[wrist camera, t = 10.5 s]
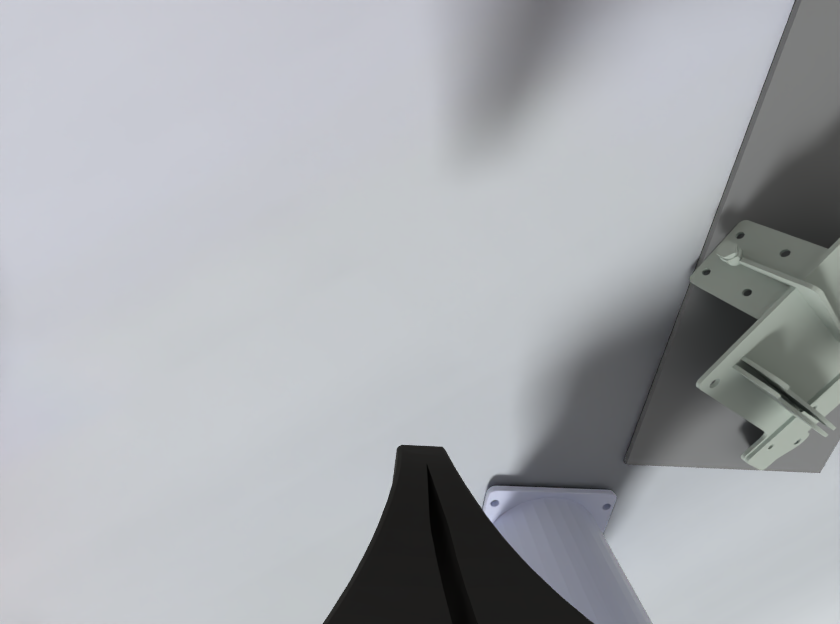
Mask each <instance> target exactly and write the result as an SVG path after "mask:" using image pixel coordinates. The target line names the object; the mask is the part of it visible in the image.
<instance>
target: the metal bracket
mask: <svg viewBox="0 0 840 624" xmlns="http://www.w3.org/2000/svg"><path fill="white" fill-rule="evenodd" d="M739 234H745V235H744V237H743V238H741V239H737V236H738V235H739ZM785 251H790V252H791V253H790V255H789V256H787V257H781V254H782V253H783V252H785ZM707 270H711V272H710V274H708V275H704V272H705V271H707ZM689 280H690V282H691V283H692V284H694V285H695V286H697V287H699V288H701V289H703V290H705V291H706V292H708V293H710V294H712V295H714V296H715V297H717V298H719V299H721V300H723V301H725V302H726V303H728V304H730V305H732V306H734V307H736V308H737V309H739V310H741V311H743V312H745V313H747V314H748V315H750V316H752V317H754V318H756V319H757V321H756V322H755V323H754V324H753V325H752V326H751V327H750V328H749V329H748V330H747V331H746V332H745V333H744V334H743V335H742V336H741V337H740V338H739V339H738V340H737V341H736V342H735V343H734V344H733V345H732V346H731V347H730V348H729V349H728V350H727V351H726V352H725V353H724V354H723V355H722V356H721V357H720V358H719V359H718V360H717V361H716V362H715V363H714V364H713V365H712V366H711V367H710V368H709V369H708V370H707V371H706V372H705V373H704V374H703V375H702V376H701V377H700V378H699V379H698V381H697V382H696V387H697V388H699V389H700V390H702V391H703V392H705V393H706V394H708V395H709V396H711V397H712V398H714V399H715V400H717V401H718V402H720V403H721V404H723V405H725V406H726V407H728V408H729V409H731V410H732V411H734V412H735V413H737V414H738V415H740V416H741V417H743V418H744V419H746V420H748V421H749V422H751V423H752V424H754V425H755V426H757V427H758V428H760V429H761V430H763V431H764V434H763V435H762V436H761V437H760V438H759V439H758V440H757V441H756V442H755V443H754V444H753V445H752V446H751V447H749V448H748V449H747V450H746V451H745V452H744V453H743V454H742V455H741V459H742V460H744V461H745V462H746V463H748V464H749V465H751V466H753V467H755V468H757V469H759V470H764V469H766V468H767V467H768V466H769V465H770V464H772V463H773V462H774V461H775V460H776V459H778V458H779V457H781V456H783V455H784V454H786V453H787V452H789V451H791V450H792V449H794V448H795V447H797V446H799V445H800V444H801V443H802V442H803V441H804V440H805V439H807V437H808V436H809V433H808V431H809V430H810V429H811V428H812V429H814V430H815V431H817V432H818V433H820V434H821V435H823V436H824V437H827V436H828V434H827V433H826V432H825V431H823V430H822V429H821V428H820V427H819V426H817V425H816V424H817V423H818V422H821V423H822V424H824V425H825V426H827V427H828V428H830V429H832V430H833V431H834V430H835V429H836V427H835V426H834V425H833V424H832V423H830V422H829V421H828V420H827V419H826V418H825V416H826V415H827V414H829V413H830V412H831V411H832V410H833V409H834V408H835V407H837V406H838V405H839V404H840V238H839V239H838V240H837V241H836V242H835V243H834V244H833V245H832V246H831V247H830V248H829V249H827V248H824V247H822V246H819V245H816V244H813V243H810V242H808V241H805V240H802V239H799V238H796V237H794V236H791V235H788V234H785V233H782V232H780V231H777V230H774V229H771V228H768V227H766V226H763V225H760V224H757V223H754V222H752V221H749V220H743V221H741V222H739V223H738V224H737V225H736V226H735V228H734V229H733V230H732V231H731V232H730V233H729V234H728V235H727V236H726V237H725V238H724V240H723V241H722V242H721V243H720V244H719V245H718V246H717V247H716V248H715V249H714V251H713V252H712V253H711V254H710V255H709V256H708V257H707V258H706V259H705V260H704V262H703V263H702V264H701V265H700V266H699V267H698V268H697V269H696V270H695V271H694V273H693V274H692V275H691V276H690V278H689ZM747 290H751V291H752V294H751V295H749V296H744V295H743V294H744V292H745V291H747ZM715 379H716V380H715ZM714 380H715V382H714V383H713V384H711V383H712V382H713V381H714ZM710 384H711V385H710Z"/></svg>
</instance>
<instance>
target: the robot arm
mask: <svg viewBox="0 0 840 624" xmlns="http://www.w3.org/2000/svg"><path fill="white" fill-rule="evenodd" d="M616 499H617V497H616V495H615V494H614V492H613V491H612V490H602V489H574V488H547V487H520V486H492V487H490V488H489V489H488V490H487V493H486V497H485V501H484V506H483V510H482V508H481V507H480V506H479V504H478V503H477V501H476V500H475V498H474V497H473V495H472V494H471V492H470V491H469V489H468V488H467V486H466V485H465V483H464V482H463V480H462V478H461V477H460V475H459V473H458V472H457V470H456V468H455V467H454V465H453V463H452V461H451V460H450V458H449V456H448V454H447V452H446V450H445V449H444V448H443V447H435V446H414V445H401V446H399V447H398V448H397V453H396V460H395V468H394V476H393V483H392V487H391V490H390V494H389V497H388V500H387V503H386V506H385V508H384V511H383V514H382V516H381V519H380V521H379V524H378V526H377V529H376V531H375V533H374V535H373V538H372V540H371V542H370V544H369V546H368V548H367V550H366V552H365V554H364V556H363V558H362V560H361V562H360V564H359V565H358V567H357V569H356V571H355V573H354V575H353V577H352V578H351V580H350V582H349V583H348V585H347V587H346V588H345V590H344V592H343V593H342V595H341V596H340V598H339V600H338V601H337V603H336V604H335V606H334V607H333V609H332V611H331V612H330V614H329V615H328V617H327V618H326V620H325V621H324V623H323V624H652V622H651V620H650V618H649V616H648V615H647V613H646V611H645V609H644V607H643V606H642V604H641V602H640V600H639V598H638V597H637V595H636V593H635V591H634V589H633V588H632V586H631V584H630V582H629V580H628V579H627V577H626V575H625V573H624V571H623V570H622V568H621V566H620V564H619V562H618V561H617V559H616V557H615V555H614V553H613V552H612V550H611V548H610V546H609V544H608V543H607V541H606V539H605V537H604V536H603V534H604V531H605V529H606V526H607V523H608V521H609V518H610V515H611V513H612V510H613V508H614V505H615V502H616ZM493 500H496V501H493ZM492 501H493V502H492Z"/></svg>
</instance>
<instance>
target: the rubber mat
mask: <svg viewBox="0 0 840 624" xmlns="http://www.w3.org/2000/svg"><path fill="white" fill-rule="evenodd" d="M743 220H749V221H752V222H754V223H757V224H760V225H763V226H766V227H768V228H771V229H774V230H777V231H780V232H782V233H785V234H788V235H791V236H794V237H796V238H799V239H802V240H805V241H808V242H810V243H813V244H816V245H819V246H822V247H824V248H827V249H829V248H830V247H831V246H832V245H833V244H834V243H835V242H836V241H837V240H838V239H839V238H840V0H796V1H795V4H794V6H793V9H792V12H791V14H790V17H789V20H788V22H787V25H786V28H785V30H784V33H783V36H782V38H781V41H780V44H779V46H778V49H777V52H776V54H775V57H774V60H773V63H772V65H771V68H770V71H769V73H768V76H767V79H766V81H765V84H764V87H763V89H762V92H761V95H760V97H759V100H758V103H757V105H756V108H755V111H754V113H753V116H752V119H751V122H750V124H749V127H748V130H747V132H746V135H745V138H744V140H743V143H742V146H741V148H740V151H739V154H738V156H737V159H736V162H735V164H734V167H733V170H732V172H731V175H730V178H729V180H728V183H727V186H726V189H725V191H724V194H723V197H722V199H721V202H720V205H719V207H718V210H717V213H716V215H715V218H714V221H713V223H712V226H711V229H710V231H709V234H708V237H707V239H706V242H705V245H704V247H703V250H702V253H701V256H700V258H699V261H698V264H697V266H696V269H697V268H698V267H699V266H700V265H701V264H702V263H703V262H704V260H705V259H706V258H707V257H708V256H709V255H710V254H711V253H712V252H713V251H714V249H715V248H716V247H717V246H718V245H719V244H720V243H721V242H722V241H723V240H724V238H725V237H726V236H727V235H728V234H729V233H730V232H731V231H732V230H733V229H734V228H735V226H736V225H737V224H738V223H739V222H741V221H743ZM744 235H745V234H739V235H738V236H737V239H741V238H743V237H744ZM790 253H791V252H790V251H785V252H783V253H782V254H781V257H787V256H789V255H790ZM696 269H695V270H696ZM710 272H711V270H707V271H705V272H704V275H708V274H710ZM751 294H752V291H751V290H747V291H745V292H744V294H743V295H744V296H749V295H751ZM756 321H757V319H756V318H754V317H752V316H750V315H748V314H747V313H745V312H743V311H741V310H739V309H737V308H736V307H734V306H732V305H730V304H728V303H726V302H725V301H723V300H721V299H719V298H717V297H715V296H714V295H712V294H710V293H708V292H706V291H705V290H703V289H701V288H699V287H697V286H695V285H694V284H692V283H691V282H690V285H689V288H688V290H687V293H686V296H685V298H684V301H683V304H682V306H681V309H680V312H679V315H678V317H677V320H676V323H675V325H674V328H673V331H672V333H671V336H670V339H669V341H668V344H667V347H666V349H665V352H664V355H663V357H662V360H661V363H660V365H659V368H658V371H657V373H656V376H655V379H654V382H653V384H652V387H651V390H650V392H649V395H648V398H647V400H646V403H645V406H644V408H643V411H642V414H641V416H640V419H639V422H638V424H637V427H636V430H635V432H634V435H633V438H632V440H631V443H630V446H629V449H628V451H627V454H626V457H625V459H624V462H625V463H626V464H629V465H651V466H674V467H696V468H719V469H741V470H759V469H757V468H755V467H753V466H751V465H749V464H748V463H746V462H745V461H744V460H742V459H741V455H742V454H743V453H744V452H745V451H746V450H747V449H748V448H749V447H751V446H752V445H753V444H754V443H755V442H756V441H757V440H758V439H759V438H760V437H761V436H762V435H763V434H764V431H763V430H761V429H760V428H758V427H757V426H755V425H754V424H752V423H751V422H749V421H748V420H746V419H744V418H743V417H741V416H740V415H738V414H737V413H735V412H734V411H732V410H731V409H729V408H728V407H726V406H725V405H723V404H721V403H720V402H718V401H717V400H715V399H714V398H712V397H711V396H709V395H708V394H706V393H705V392H703V391H702V390H700V389H699V388H697V387H696V382H697V381H698V379H699V378H700V377H701V376H702V375H703V374H704V373H705V372H706V371H707V370H708V369H709V368H710V367H711V366H712V365H713V364H714V363H715V362H716V361H717V360H718V359H719V358H720V357H721V356H722V355H723V354H724V353H725V352H726V351H727V350H728V349H729V348H730V347H731V346H732V345H733V344H734V343H735V342H736V341H737V340H738V339H739V338H740V337H741V336H742V335H743V334H744V333H745V332H746V331H747V330H748V329H749V328H750V327H751V326H752V325H753V324H754V323H755V322H756ZM715 380H716V379H715ZM715 380H714V381H713V382H712V383H711V384H713V383H714V382H715ZM711 384H710V385H711ZM825 418H826V419H827V420H828V421H829V422H830V423H832V424H833V425H834V426H835V427H836V429H835V430H834V431H833V430H832V429H830V428H828V427H827V426H825V425H824V424H822V423H821V422H818V423H817V424H816V425H817V426H819V427H820V428H821V429H822V430H823V431H825V432H826V433H827V434H828V436H827V437H824V436H823V435H821V434H820V433H818V432H817V431H815V430H814V429H812V428H811V429H810V430H809V431H808V433H809V436H808V437H807V439H805V440H804V441H803V442H802V443H801V444H800V445H799V446H797V447H795V448H794V449H792V450H791V451H789V452H787V453H786V454H784V455H783V456H781V457H779V458H778V459H776V460H775V461H774V462H773V463H772V464H770V465H769V466H768V467H767V468H766V469H764V471H786V472H809V473H820V472H821V470H822V469H823V467H824V465H825V463H826V462H827V460H828V458H829V457H830V455H831V453H832V452H833V450H834V448H835V446H836V445H837V443H838V441H839V440H840V404H839V405H838V406H837V407H835V408H834V409H833V410H832V411H831V412H830V413H829V414H827V415H826V416H825Z"/></svg>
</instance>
